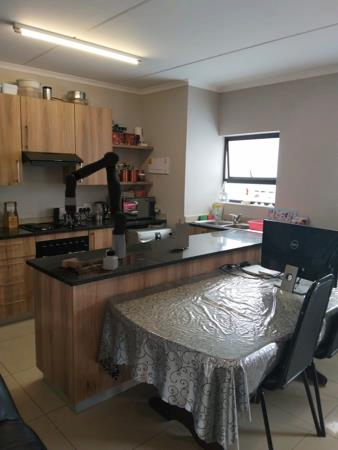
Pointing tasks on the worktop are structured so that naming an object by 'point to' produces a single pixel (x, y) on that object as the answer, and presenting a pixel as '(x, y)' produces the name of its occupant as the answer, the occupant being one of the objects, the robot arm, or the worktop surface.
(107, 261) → the medicine bottle
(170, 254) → the worktop surface
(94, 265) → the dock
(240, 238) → the worktop surface
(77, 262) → the T block
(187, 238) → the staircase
